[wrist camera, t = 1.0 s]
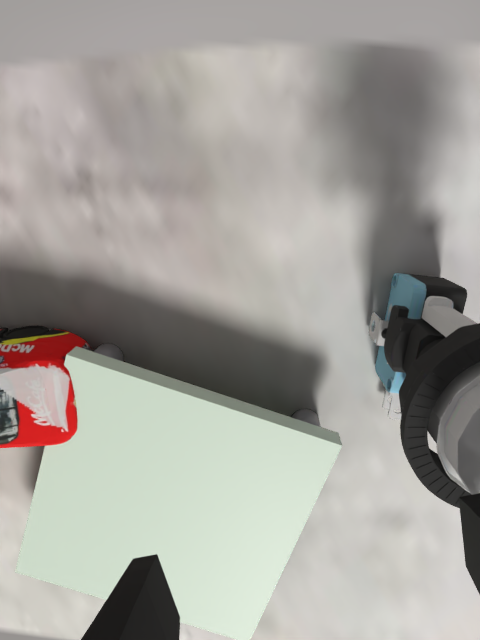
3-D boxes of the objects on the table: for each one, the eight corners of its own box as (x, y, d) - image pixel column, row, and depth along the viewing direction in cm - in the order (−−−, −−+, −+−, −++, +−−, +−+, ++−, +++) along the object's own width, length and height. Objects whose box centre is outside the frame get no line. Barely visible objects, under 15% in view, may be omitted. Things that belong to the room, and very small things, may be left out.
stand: (331, 411, 21) (342, 445, 18) (250, 590, 25) (248, 643, 22) (93, 331, 21) (66, 354, 18) (44, 526, 24) (15, 572, 21)
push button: (441, 409, 21) (592, 595, 11) (330, 397, 21) (386, 570, 11) (476, 272, 19) (695, 357, 9) (353, 260, 19) (446, 330, 10)
